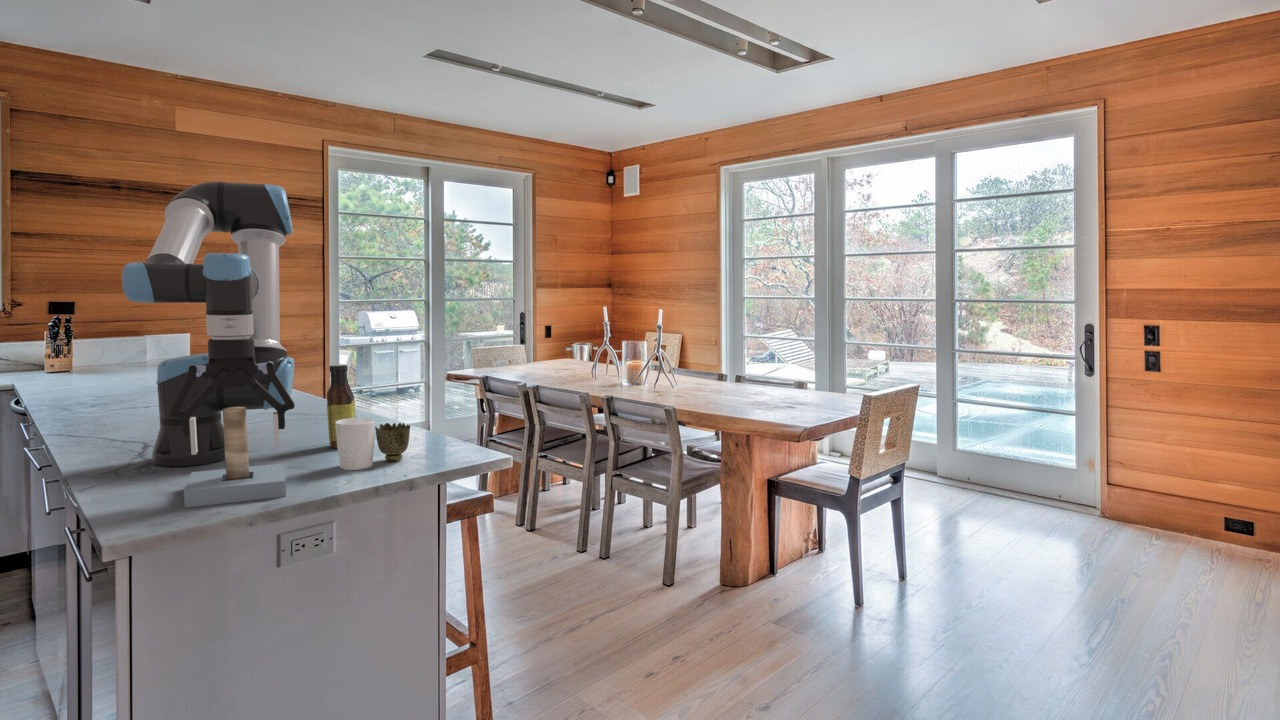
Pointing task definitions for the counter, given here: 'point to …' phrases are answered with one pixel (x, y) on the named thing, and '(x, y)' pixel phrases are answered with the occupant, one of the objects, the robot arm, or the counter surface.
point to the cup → (393, 440)
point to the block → (235, 486)
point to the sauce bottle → (339, 400)
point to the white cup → (355, 443)
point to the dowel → (236, 443)
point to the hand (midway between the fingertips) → (236, 449)
